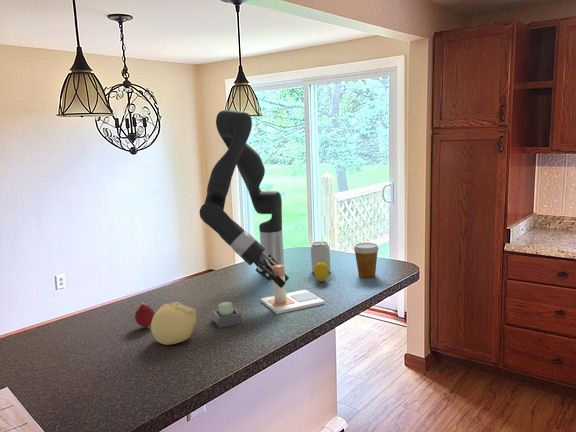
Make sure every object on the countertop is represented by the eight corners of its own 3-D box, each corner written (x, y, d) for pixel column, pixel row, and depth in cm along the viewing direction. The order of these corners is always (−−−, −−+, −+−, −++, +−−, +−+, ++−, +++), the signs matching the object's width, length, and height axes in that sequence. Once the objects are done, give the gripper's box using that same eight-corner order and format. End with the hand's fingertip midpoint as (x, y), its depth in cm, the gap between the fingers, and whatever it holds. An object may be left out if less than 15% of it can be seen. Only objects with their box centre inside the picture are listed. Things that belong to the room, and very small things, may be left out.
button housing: (213, 320, 152) (212, 311, 151) (234, 315, 154) (233, 306, 154) (219, 327, 145) (218, 318, 145) (241, 323, 148) (240, 313, 147)
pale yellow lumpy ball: (204, 334, 141) (200, 299, 139) (176, 352, 131) (172, 313, 129) (173, 329, 147) (170, 294, 145) (144, 345, 136) (140, 308, 134)
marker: (272, 300, 163) (269, 265, 161) (283, 298, 164) (281, 263, 162) (277, 304, 159) (274, 268, 157) (288, 301, 160) (286, 266, 159)
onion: (159, 324, 151) (157, 299, 149) (148, 332, 145) (145, 306, 144) (143, 323, 153) (141, 298, 151) (132, 330, 147) (129, 305, 146)
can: (309, 273, 195) (307, 244, 193) (315, 268, 202) (314, 240, 200) (327, 274, 192) (325, 245, 190) (332, 269, 199) (331, 240, 197)
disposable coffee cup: (363, 270, 195) (363, 241, 193) (384, 274, 188) (383, 244, 186) (349, 276, 188) (348, 246, 186) (370, 280, 181) (369, 249, 179)
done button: (217, 316, 151) (216, 303, 150) (231, 313, 152) (230, 301, 152) (221, 320, 147) (220, 308, 146) (235, 317, 148) (234, 305, 148)
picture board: (260, 301, 166) (260, 297, 166) (305, 292, 173) (305, 288, 173) (276, 314, 154) (276, 310, 153) (324, 303, 160) (324, 300, 160)
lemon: (329, 279, 186) (328, 259, 185) (329, 283, 181) (328, 263, 179) (315, 279, 187) (314, 259, 185) (314, 284, 181) (313, 263, 180)
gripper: (248, 244, 152) (288, 281, 152) (260, 235, 166) (296, 268, 166) (233, 261, 154) (273, 298, 154) (246, 250, 168) (282, 283, 168)
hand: (285, 282), depth 160 cm, fingers open, 5 cm apart
